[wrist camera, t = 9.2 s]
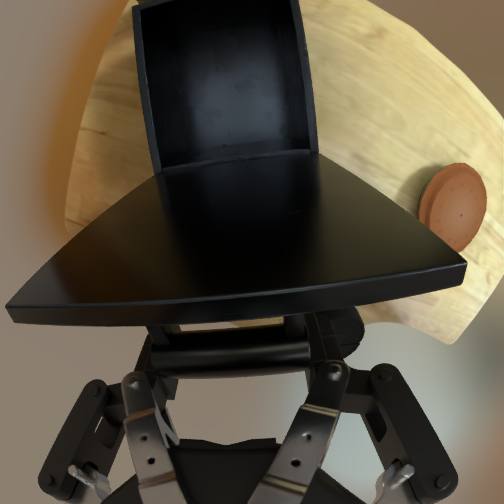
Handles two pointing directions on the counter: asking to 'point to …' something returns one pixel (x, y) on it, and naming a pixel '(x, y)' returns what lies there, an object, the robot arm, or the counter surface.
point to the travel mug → (346, 328)
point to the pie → (454, 204)
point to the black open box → (223, 81)
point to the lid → (238, 263)
